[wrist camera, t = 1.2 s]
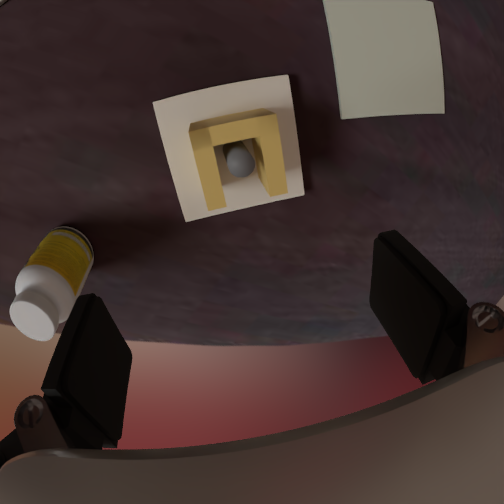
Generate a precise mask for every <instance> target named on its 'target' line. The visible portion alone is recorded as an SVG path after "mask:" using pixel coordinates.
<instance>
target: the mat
mask: <svg viewBox="0 0 504 504" xmlns="http://www.w3.org/2000/svg"><path fill="white" fill-rule="evenodd" d="M323 4H324V9H325V14H326V19H327V24H328V30H329V36H330V41H331V47H332V54H333V60H334V67H335V74H336V82H337V90H338V98H339V107H340V116H341V119H351V118H361V117H372V116H386V115H403V114H436V113H445V107H444V84H443V70H442V59H441V50H440V42H439V35H438V28H437V22H436V16H435V11H434V5H433V2H430V1H426V0H323Z"/></svg>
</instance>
